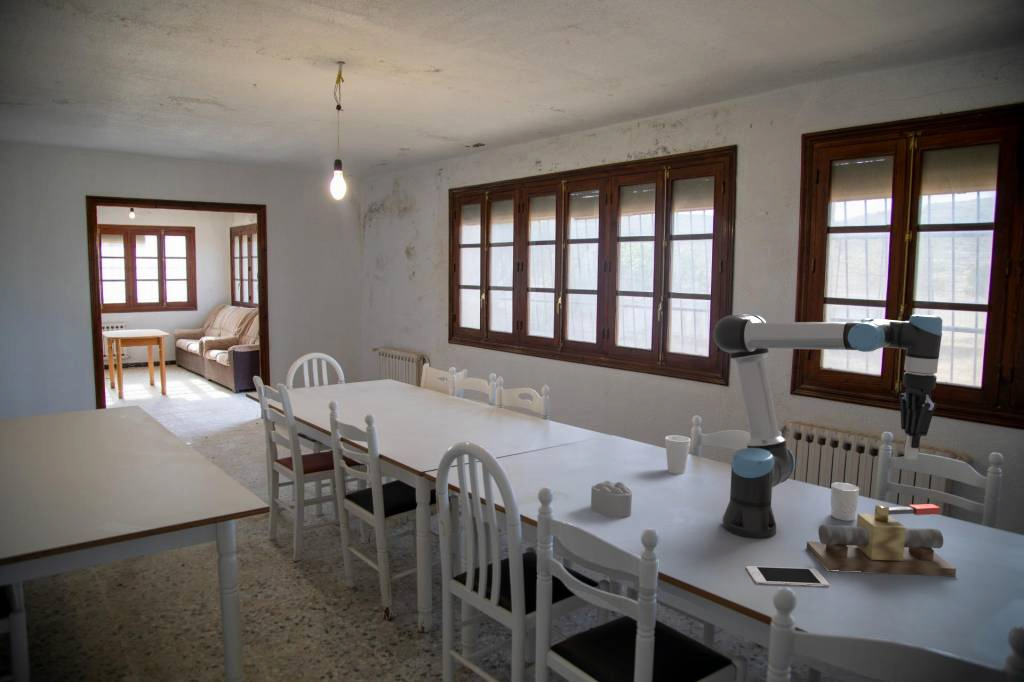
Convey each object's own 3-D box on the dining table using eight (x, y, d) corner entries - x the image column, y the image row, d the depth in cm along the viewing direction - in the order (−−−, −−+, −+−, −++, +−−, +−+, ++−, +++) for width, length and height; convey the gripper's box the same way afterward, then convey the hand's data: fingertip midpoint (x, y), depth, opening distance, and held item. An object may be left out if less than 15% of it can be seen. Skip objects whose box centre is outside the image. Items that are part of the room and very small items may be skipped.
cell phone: (745, 569, 170) (745, 565, 170) (815, 571, 169) (815, 568, 169) (755, 585, 161) (755, 581, 161) (830, 588, 160) (830, 584, 160)
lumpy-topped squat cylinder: (607, 501, 217) (608, 476, 216) (639, 513, 207) (640, 486, 206) (586, 508, 210) (587, 482, 209) (617, 521, 200) (618, 493, 199)
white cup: (825, 517, 206) (827, 486, 205) (833, 510, 212) (835, 480, 211) (852, 523, 201) (855, 492, 200) (860, 517, 206) (862, 486, 205)
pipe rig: (828, 571, 169) (831, 528, 167) (806, 548, 182) (809, 508, 181) (955, 576, 167) (959, 533, 166) (924, 552, 181) (927, 512, 180)
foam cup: (669, 466, 257) (671, 434, 255) (692, 470, 251) (694, 437, 250) (660, 472, 249) (661, 439, 248) (683, 477, 244) (684, 443, 242)
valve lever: (939, 519, 174) (940, 506, 174) (879, 521, 172) (880, 509, 171) (930, 514, 177) (931, 502, 177) (871, 517, 175) (872, 505, 174)
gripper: (950, 377, 167) (940, 466, 170) (919, 369, 180) (909, 451, 183) (921, 377, 167) (911, 465, 170) (892, 368, 180) (883, 450, 183)
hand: (910, 458), depth 177 cm, fingers closed
